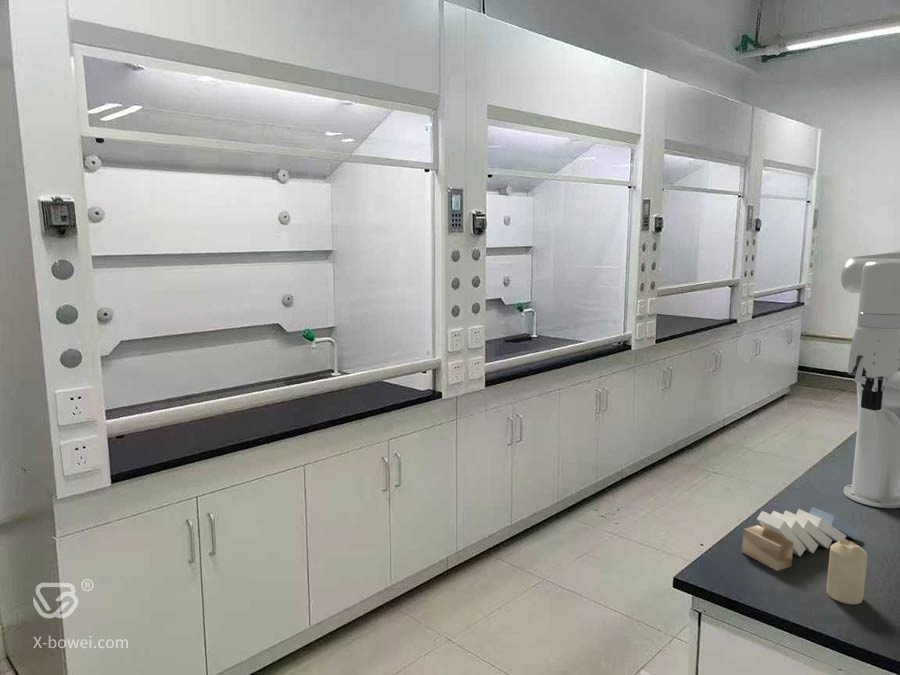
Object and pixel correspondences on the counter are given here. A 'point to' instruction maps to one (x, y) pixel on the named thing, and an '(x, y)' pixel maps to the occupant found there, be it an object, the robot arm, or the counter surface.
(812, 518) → the domino
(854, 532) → the domino
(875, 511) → the counter surface
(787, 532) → the domino
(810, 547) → the domino
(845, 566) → the candle
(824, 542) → the domino
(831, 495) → the counter surface
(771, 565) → the end block
